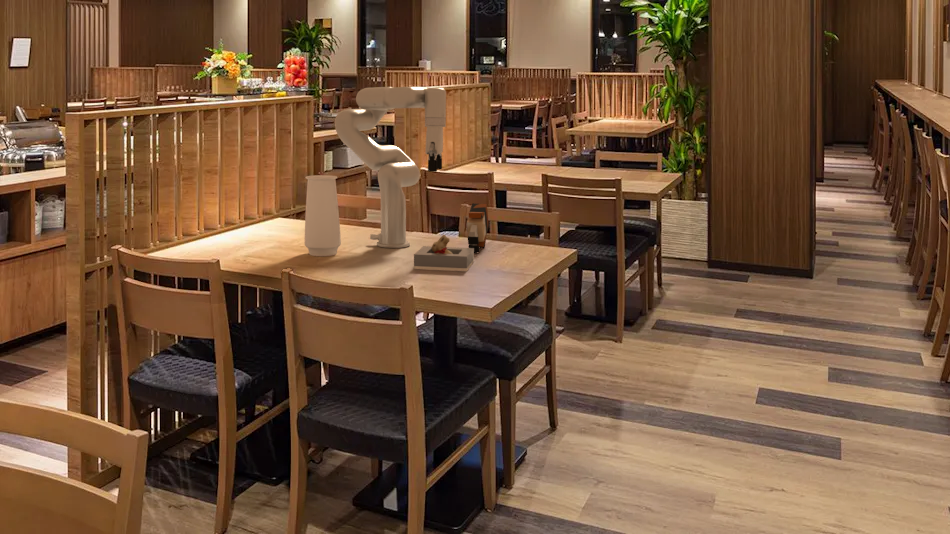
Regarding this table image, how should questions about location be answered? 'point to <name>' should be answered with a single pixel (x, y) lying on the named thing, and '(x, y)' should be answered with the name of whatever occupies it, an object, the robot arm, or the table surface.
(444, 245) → the chocolate bunny
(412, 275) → the table surface
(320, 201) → the vase
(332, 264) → the table surface
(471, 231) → the toy
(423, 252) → the well
